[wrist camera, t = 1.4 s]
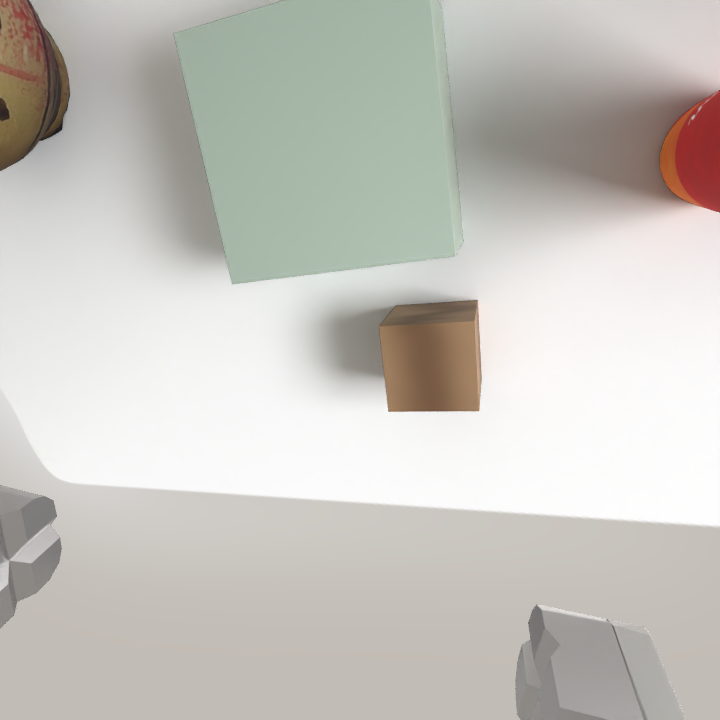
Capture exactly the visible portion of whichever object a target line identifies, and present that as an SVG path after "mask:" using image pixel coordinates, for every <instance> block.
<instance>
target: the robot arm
mask: <svg viewBox="0 0 720 720" xmlns="http://www.w3.org/2000/svg"><path fill="white" fill-rule="evenodd" d="M56 517H57V514H56V510H55V505H54V501H53V500H51V499H49V498H47V497H45V496H42V495H38V494H34V493H30V492H26V491H22V490H18V489H14V488H10V487H6V486H2V485H0V628H1V627H2V626H3V625H4V624H5V623H6V622H7V621H8V620H9V619H10V618H11V617H13V616H14V613H15V608H16V604H17V602H18V601H20V600H22V599H24V598H27V597H29V596H31V595H33V594H35V593H37V592H38V591H39V590H40V589H41V588H42V587H43V586H44V585H45V584H46V583H47V581H49V580H50V578H51V576H52V574H53V573H54V571H55V569H56V567H57V565H58V564H59V560H60V555H61V549H62V548H61V541H60V537H59V535H58V534H57V533H56V532H55V530H54V529H53V528H52V526H51V524H52V522H53V521H54V520H55V518H56ZM528 624H529V632H530V638H531V639H530V640H529V641H527V642H525V643H524V644H522V646H521V650H520V654H519V658H518V663H517V672H516V705H517V715H518V716H519V718H520V719H521V720H686V718H685V716H684V713H683V711H682V709H681V706H680V704H679V702H678V699H677V697H676V694H675V692H674V690H673V687H672V685H671V682H670V680H669V678H668V675H667V673H666V671H665V668H664V666H663V663H662V661H661V659H660V657H659V654H658V652H657V649H656V647H655V644H654V642H653V640H652V638H651V635H650V633H649V632H648V631H647V630H646V629H645V628H644V627H643V626H638V625H634V624H629V623H624V622H619V621H614V620H610V619H606V620H605V619H603V618H599V617H594V616H590V615H585V614H580V613H575V612H570V611H566V610H561V609H556V608H552V607H547V606H542V605H536V606H535V607H534V609H533V610H532V613H531V616H530V619H529V622H528Z"/></svg>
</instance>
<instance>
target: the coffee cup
mask: <svg viewBox="0 0 720 720" xmlns="http://www.w3.org/2000/svg"><path fill="white" fill-rule="evenodd" d="M660 170H661V174H662V177H663V180H664V182H665V183H666V185H667V186H668V188H669V189H670V190H671V191H672V192H673V193H674V194H675V195H676V196H678V197H679V198H681V199H683V200H685V201H687V202H689V203H692V204H695V205H698V206H701V207H704V208H707V209H710V210H713V211H716V212H720V90H719V91H717V92H716V93H714V94H712V95H711V96H709V97H707V98H706V99H704V100H702V101H701V102H699V103H698V104H696V105H695V106H693V107H692V108H691V109H689V110H688V111H687V112H685V113H684V114H683V115H682V116H681V117H680V118H679V119H678V120H677V121H676V122H675V124H674V125H673V126H672V128H671V129H670V131H669V132H668V134H667V136H666V138H665V140H664V142H663V145H662V149H661V153H660Z"/></svg>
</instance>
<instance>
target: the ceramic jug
mask: <svg viewBox="0 0 720 720" xmlns="http://www.w3.org/2000/svg"><path fill="white" fill-rule="evenodd" d="M69 97H70V90H69V78H68V74H67V69H66V65H65V62H64V59H63V56H62V54H61V52H60V51H59V49H58V47H57V45H56V44H55V42H54V40H53V38H52V37H51V35H50V33H49V32H48V31H47V30H46V29H45V28H44V27H43V25H42V23H41V21H40V19H39V17H38V15H37V13H36V11H35V10H34V8H33V6H32V4H31V2H30V1H29V0H0V171H1V170H3V169H5V168H7V167H9V166H11V165H13V164H14V163H16V162H18V161H20V160H21V159H23V158H24V157H25V156H26V155H27V154H28V153H29V152H31V151H32V150H33V148H34V147H35V146H36V144H37V143H38V142H39V141H41V140H44V139H47V138H49V137H51V136H53V135H55V134H56V133H58V132H59V131H61V130H62V124H63V116H64V114H65V112H66V111H67V106H68V101H69Z"/></svg>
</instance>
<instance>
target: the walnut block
mask: <svg viewBox="0 0 720 720" xmlns="http://www.w3.org/2000/svg"><path fill="white" fill-rule="evenodd" d="M379 332H380V341H381V350H382V358H383V367H384V376H385V385H386V394H387V403H388V412H405V411H479V406H480V393H481V379H482V377H481V356H480V336H479V315H478V300H473V301H457V302H442V303H426V304H411V305H396V306H395V307H394V308H393V310H392V311H391V312H390V313H389V314H388V316H387V317H386V318H385V319H384V321H383V322H382V323H381V324H380V326H379Z"/></svg>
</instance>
